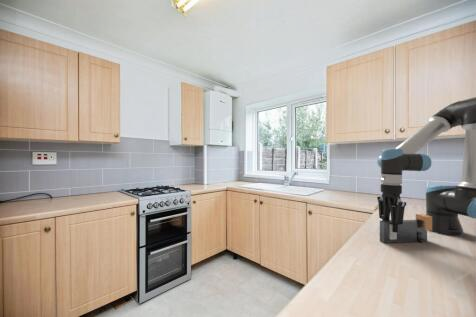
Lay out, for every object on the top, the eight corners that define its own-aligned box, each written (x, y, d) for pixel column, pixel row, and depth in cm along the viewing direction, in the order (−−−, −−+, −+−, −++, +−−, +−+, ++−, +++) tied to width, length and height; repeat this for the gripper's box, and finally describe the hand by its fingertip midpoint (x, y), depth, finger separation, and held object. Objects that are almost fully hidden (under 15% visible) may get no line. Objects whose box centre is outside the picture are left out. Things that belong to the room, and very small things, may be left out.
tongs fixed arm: (424, 239, 94) (424, 219, 94) (431, 242, 91) (431, 221, 91) (379, 240, 93) (379, 220, 93) (385, 243, 89) (385, 222, 89)
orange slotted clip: (422, 227, 95) (422, 213, 95) (432, 230, 91) (432, 216, 91) (415, 227, 95) (415, 214, 95) (425, 230, 90) (425, 216, 90)
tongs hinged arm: (414, 240, 92) (414, 220, 92) (416, 241, 91) (416, 221, 91) (381, 241, 91) (381, 221, 91) (384, 242, 90) (384, 222, 90)
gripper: (370, 181, 99) (369, 231, 99) (398, 186, 84) (396, 245, 84) (385, 182, 100) (384, 231, 100) (415, 186, 84) (414, 244, 84)
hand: (389, 237), depth 92 cm, fingers open, 2 cm apart
